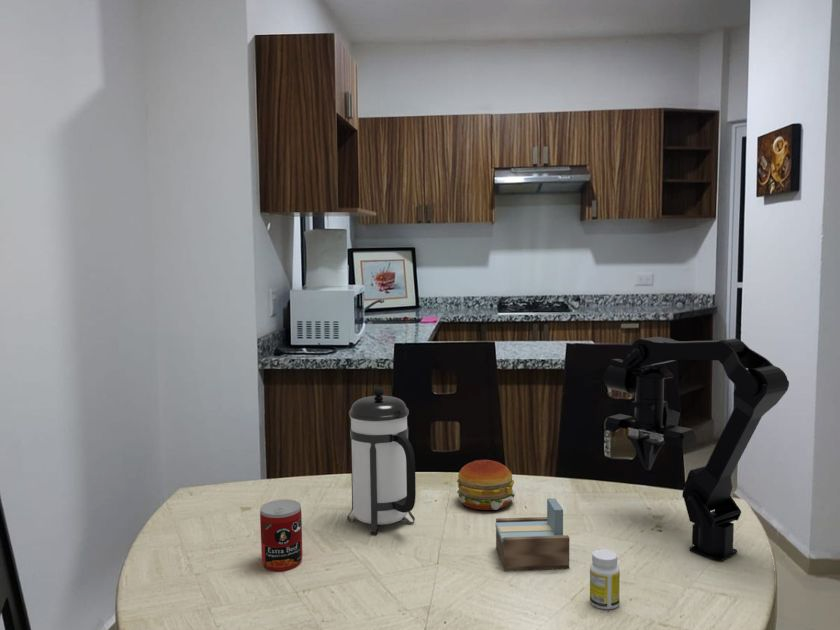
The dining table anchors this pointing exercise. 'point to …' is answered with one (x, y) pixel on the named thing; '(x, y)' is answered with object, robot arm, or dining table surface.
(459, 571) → the dining table surface
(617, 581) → the supplement bottle
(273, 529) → the canned food
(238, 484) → the dining table surface
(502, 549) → the pencil box
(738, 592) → the dining table surface
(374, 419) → the coffee press
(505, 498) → the burger
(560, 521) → the lid
